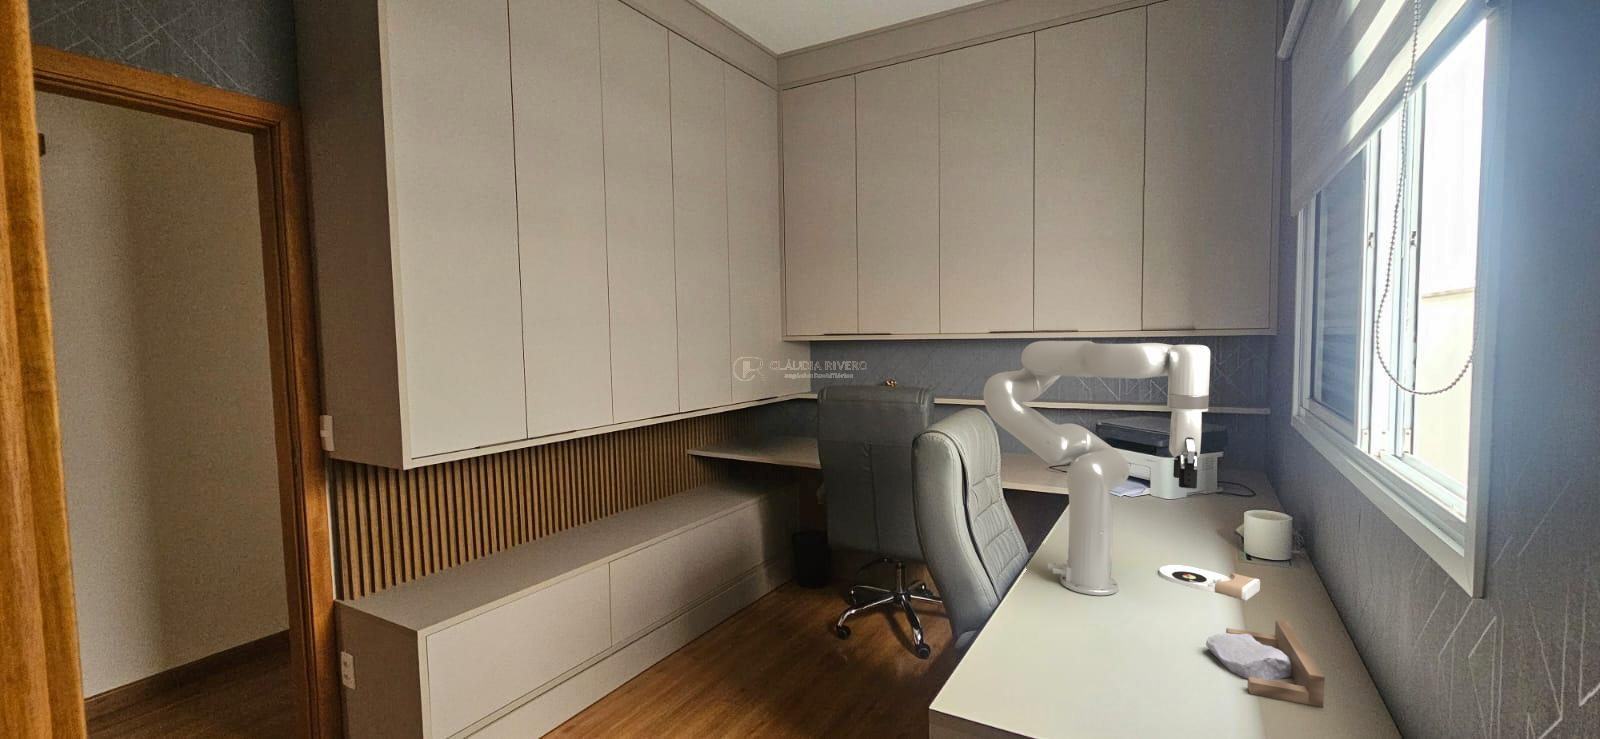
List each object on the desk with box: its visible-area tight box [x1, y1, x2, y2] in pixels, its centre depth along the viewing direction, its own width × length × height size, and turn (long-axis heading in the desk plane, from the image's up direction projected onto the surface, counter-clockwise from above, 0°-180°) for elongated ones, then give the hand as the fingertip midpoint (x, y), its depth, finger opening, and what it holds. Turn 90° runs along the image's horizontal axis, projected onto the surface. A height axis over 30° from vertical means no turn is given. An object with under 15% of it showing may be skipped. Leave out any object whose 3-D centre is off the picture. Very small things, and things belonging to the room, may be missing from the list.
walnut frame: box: [1225, 620, 1326, 708], centre depth 120 cm, size 10×22×5 cm, turn 156°
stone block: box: [1205, 632, 1292, 681], centre depth 122 cm, size 12×5×10 cm
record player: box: [1158, 564, 1261, 601], centre depth 161 cm, size 12×3×20 cm
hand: (1184, 482), depth 142 cm, fingers open, 9 cm apart
